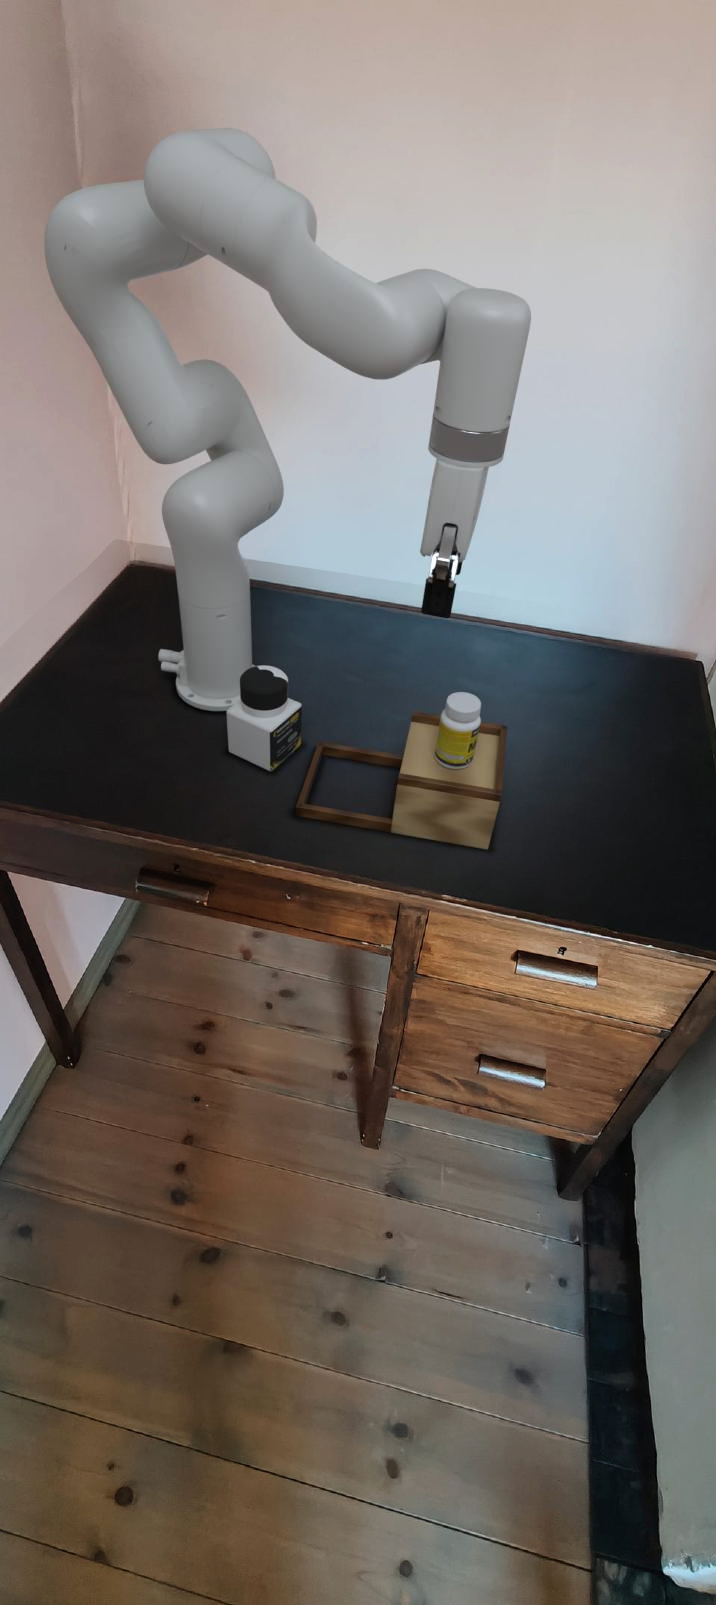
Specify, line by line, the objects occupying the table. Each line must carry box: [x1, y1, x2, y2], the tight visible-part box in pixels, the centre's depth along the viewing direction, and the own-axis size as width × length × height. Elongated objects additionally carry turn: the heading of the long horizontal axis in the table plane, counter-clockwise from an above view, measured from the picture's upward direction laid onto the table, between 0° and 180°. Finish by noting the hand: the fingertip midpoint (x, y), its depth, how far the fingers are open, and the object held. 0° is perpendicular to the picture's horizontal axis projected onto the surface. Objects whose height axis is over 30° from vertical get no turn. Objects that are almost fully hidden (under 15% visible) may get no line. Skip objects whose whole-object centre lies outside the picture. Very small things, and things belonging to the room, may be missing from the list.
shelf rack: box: [295, 710, 508, 850], centre depth 103 cm, size 24×13×9 cm, turn 79°
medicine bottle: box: [226, 664, 303, 772], centre depth 108 cm, size 7×7×12 cm
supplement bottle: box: [434, 691, 482, 769], centre depth 97 cm, size 5×5×8 cm
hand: (441, 592), depth 93 cm, fingers open, 9 cm apart
